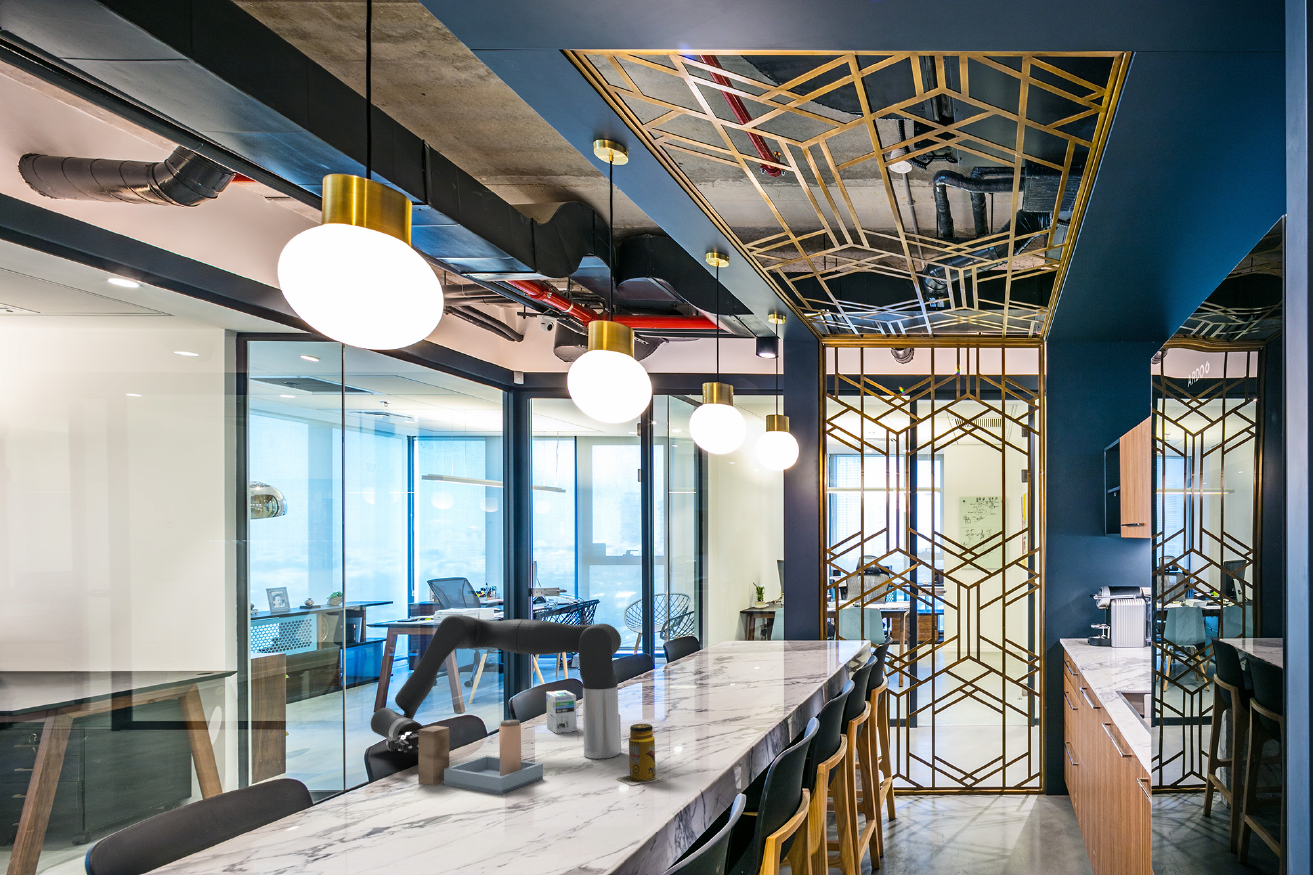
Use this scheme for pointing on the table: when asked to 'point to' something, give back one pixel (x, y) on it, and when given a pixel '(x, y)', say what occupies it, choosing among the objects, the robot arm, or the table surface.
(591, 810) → the table surface
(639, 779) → the condiment
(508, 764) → the terracotta jar
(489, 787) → the tote
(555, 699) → the light bulb box
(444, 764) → the walnut block
